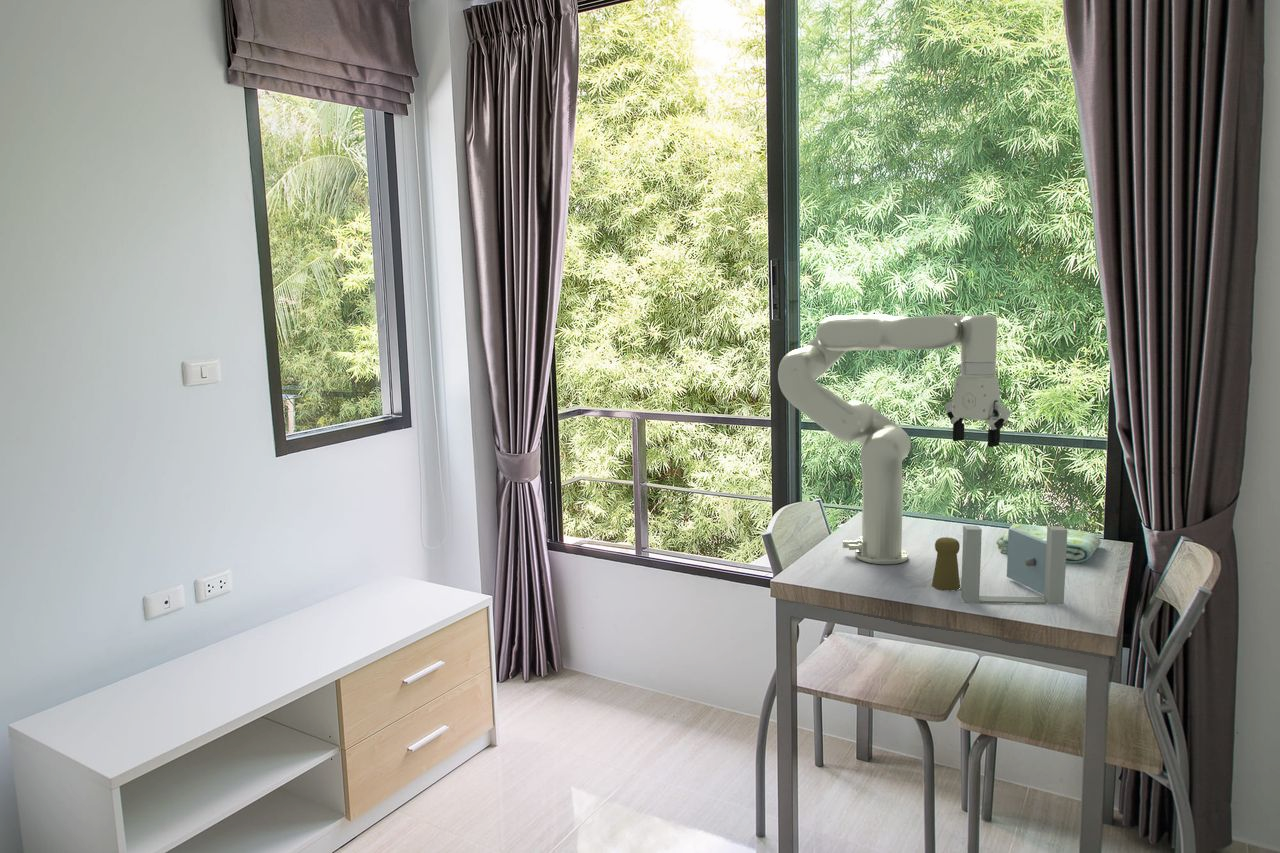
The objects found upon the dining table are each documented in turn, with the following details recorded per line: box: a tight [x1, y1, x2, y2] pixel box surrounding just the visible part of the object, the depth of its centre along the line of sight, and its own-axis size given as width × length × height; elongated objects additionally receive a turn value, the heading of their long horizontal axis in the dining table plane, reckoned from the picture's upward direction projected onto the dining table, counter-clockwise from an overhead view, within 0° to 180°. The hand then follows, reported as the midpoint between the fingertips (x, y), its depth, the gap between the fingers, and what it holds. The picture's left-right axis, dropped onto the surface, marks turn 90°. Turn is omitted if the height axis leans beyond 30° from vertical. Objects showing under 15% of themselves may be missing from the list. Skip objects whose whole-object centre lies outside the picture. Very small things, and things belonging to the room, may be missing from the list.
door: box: [1006, 528, 1047, 596], centre depth 194 cm, size 13×3×11 cm, turn 13°
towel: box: [996, 523, 1102, 564], centre depth 223 cm, size 18×21×5 cm
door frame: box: [960, 525, 1068, 605], centre depth 187 cm, size 20×3×16 cm, turn 83°
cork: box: [931, 536, 961, 592], centre depth 198 cm, size 6×6×11 cm
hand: (975, 443), depth 206 cm, fingers open, 9 cm apart
